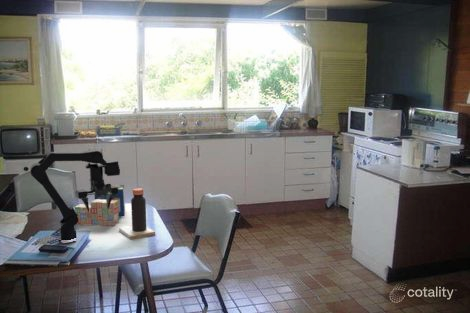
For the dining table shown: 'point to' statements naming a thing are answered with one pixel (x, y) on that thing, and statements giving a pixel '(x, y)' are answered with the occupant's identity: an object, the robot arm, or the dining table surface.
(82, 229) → the dining table surface
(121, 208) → the protein box
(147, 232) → the white flat block
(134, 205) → the vinegar
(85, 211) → the stack of blocks
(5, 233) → the dining table surface
